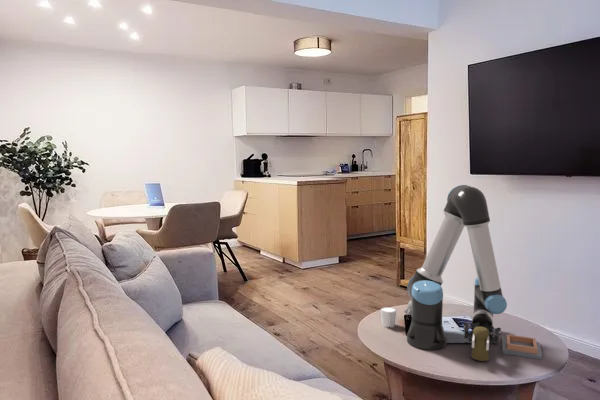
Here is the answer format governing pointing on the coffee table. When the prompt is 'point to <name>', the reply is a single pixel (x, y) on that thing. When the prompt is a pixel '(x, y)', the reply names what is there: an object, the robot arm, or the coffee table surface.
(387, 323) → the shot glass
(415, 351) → the coffee table surface
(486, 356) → the cork
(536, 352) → the pallet plate
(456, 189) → the robot arm
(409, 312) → the toy rhinoceros
